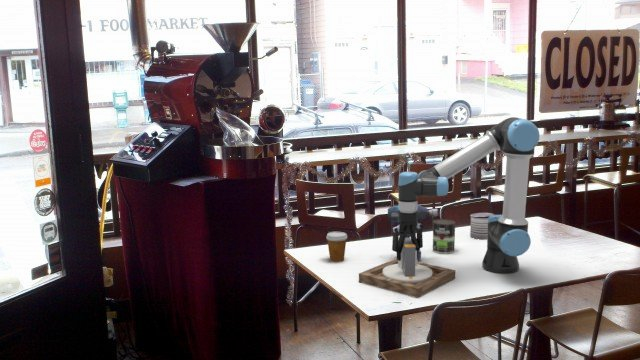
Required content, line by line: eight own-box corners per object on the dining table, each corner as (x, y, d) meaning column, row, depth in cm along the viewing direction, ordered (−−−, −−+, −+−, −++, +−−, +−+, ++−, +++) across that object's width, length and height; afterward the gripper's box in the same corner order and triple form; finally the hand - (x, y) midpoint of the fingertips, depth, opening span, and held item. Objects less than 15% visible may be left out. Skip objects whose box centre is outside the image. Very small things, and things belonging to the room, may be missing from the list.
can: (478, 241, 311) (479, 217, 309) (465, 235, 322) (465, 212, 319) (497, 238, 316) (498, 214, 314) (483, 233, 326) (483, 210, 324)
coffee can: (452, 254, 289) (453, 225, 287) (430, 252, 293) (430, 223, 291) (456, 248, 299) (457, 220, 296) (435, 246, 302) (435, 218, 300)
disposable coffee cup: (351, 259, 285) (351, 233, 283) (338, 264, 278) (337, 238, 276) (336, 255, 291) (335, 230, 289) (322, 260, 285) (321, 234, 282)
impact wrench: (437, 263, 278) (438, 207, 273) (386, 260, 282) (386, 206, 278) (438, 257, 285) (439, 203, 281) (388, 255, 290) (388, 202, 285)
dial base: (455, 278, 257) (455, 269, 257) (417, 297, 237) (417, 288, 236) (398, 265, 276) (398, 256, 275) (358, 281, 255) (358, 273, 255)
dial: (380, 268, 266) (380, 235, 263) (427, 267, 266) (427, 234, 263) (385, 284, 246) (385, 249, 243) (436, 283, 246) (437, 248, 244)
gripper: (421, 206, 259) (421, 260, 263) (382, 211, 251) (382, 267, 255) (432, 210, 252) (431, 265, 256) (392, 215, 244) (392, 272, 248)
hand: (407, 266), depth 256 cm, fingers closed on dial, 6 cm apart
